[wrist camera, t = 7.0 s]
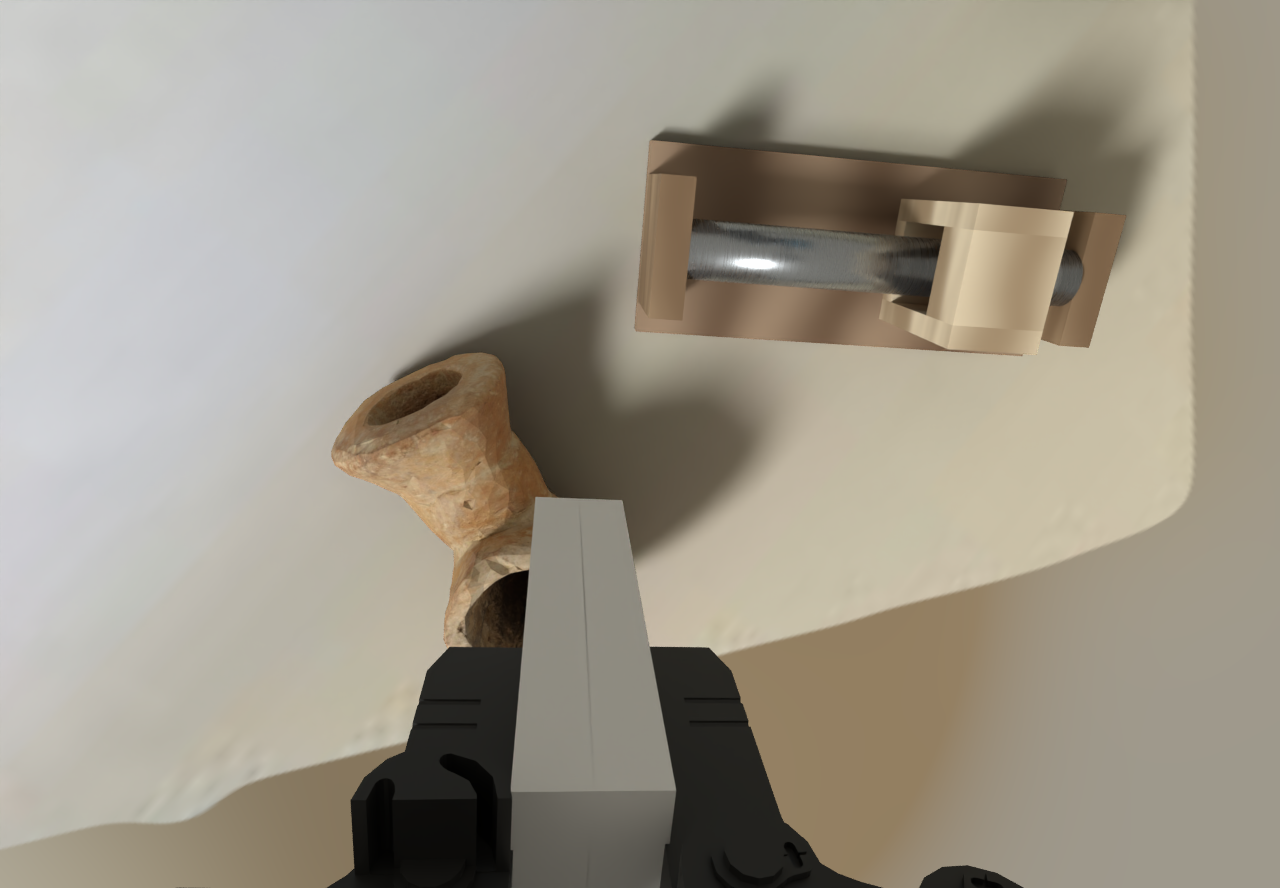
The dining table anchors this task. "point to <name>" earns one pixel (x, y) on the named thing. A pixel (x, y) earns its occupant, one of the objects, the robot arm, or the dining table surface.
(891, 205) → the cradle
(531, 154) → the dining table surface
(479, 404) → the pipe
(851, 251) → the rod
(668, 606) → the dining table surface
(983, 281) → the collar
